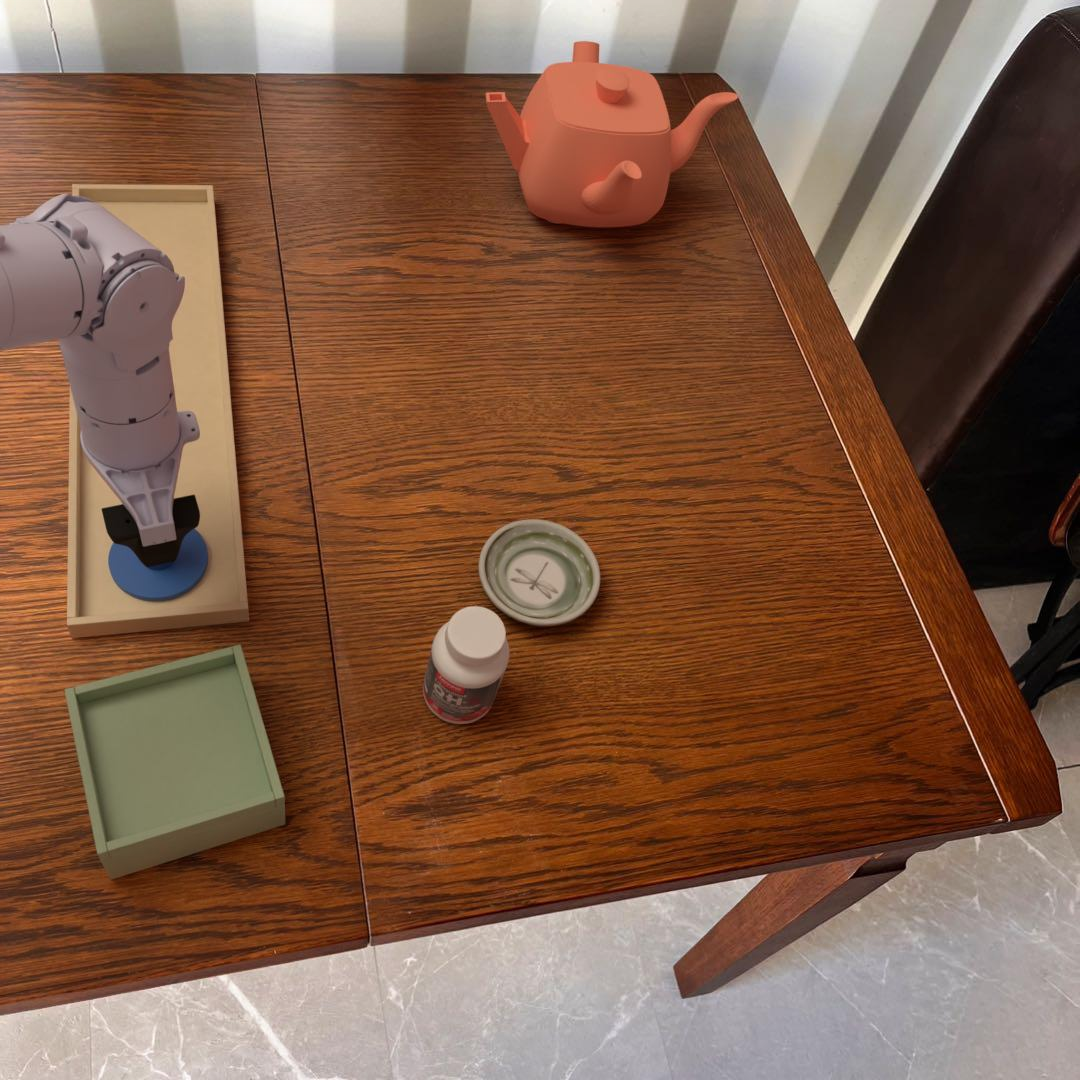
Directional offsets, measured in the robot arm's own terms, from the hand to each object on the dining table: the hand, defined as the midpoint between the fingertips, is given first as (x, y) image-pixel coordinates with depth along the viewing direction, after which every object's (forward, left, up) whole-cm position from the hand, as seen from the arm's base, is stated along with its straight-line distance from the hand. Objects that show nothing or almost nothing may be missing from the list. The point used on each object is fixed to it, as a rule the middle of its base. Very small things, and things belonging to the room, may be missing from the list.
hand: (148, 514), depth 76 cm
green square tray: (-2, -16, -7) cm, 18 cm away
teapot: (+50, +33, -7) cm, 60 cm away
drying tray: (+3, +17, -7) cm, 18 cm away
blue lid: (0, 0, -6) cm, 6 cm away
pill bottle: (+18, -16, -7) cm, 25 cm away
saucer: (+27, -9, -7) cm, 30 cm away
